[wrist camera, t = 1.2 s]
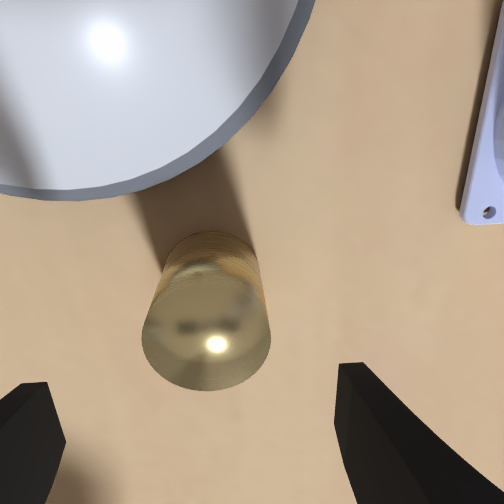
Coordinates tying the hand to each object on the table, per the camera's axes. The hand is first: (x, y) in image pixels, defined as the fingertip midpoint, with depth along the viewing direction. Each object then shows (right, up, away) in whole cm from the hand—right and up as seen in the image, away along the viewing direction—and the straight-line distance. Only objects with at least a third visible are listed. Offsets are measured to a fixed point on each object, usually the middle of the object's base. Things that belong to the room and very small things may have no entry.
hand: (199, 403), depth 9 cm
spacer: (0, +3, +6) cm, 7 cm away
